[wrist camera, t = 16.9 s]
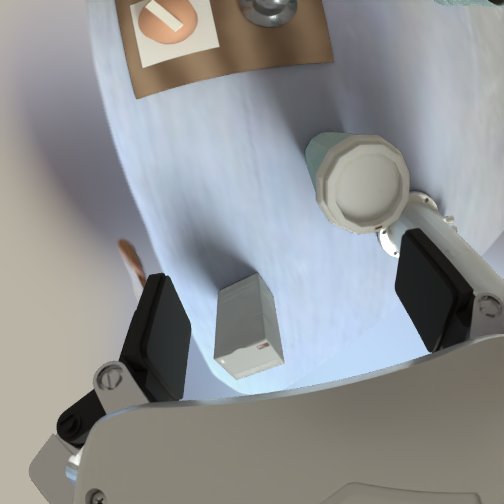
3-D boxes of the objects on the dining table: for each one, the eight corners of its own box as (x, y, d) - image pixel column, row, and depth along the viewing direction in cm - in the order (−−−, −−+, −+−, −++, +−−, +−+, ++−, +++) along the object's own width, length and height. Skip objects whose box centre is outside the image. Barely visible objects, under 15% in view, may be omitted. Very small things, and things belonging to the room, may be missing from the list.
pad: (205, -17, 23) (205, -18, 23) (219, 46, 28) (219, 46, 28) (130, 6, 24) (129, 5, 23) (143, 67, 29) (142, 67, 29)
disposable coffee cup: (281, 129, 36) (305, 157, 23) (353, 108, 34) (410, 126, 22) (304, 196, 42) (333, 253, 29) (369, 175, 40) (421, 221, 27)
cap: (208, 20, 26) (204, 12, 22) (169, 53, 28) (160, 49, 24) (175, -7, 23) (167, -18, 19) (138, 26, 25) (125, 20, 21)
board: (306, -46, 21) (307, -49, 20) (331, 62, 31) (333, 62, 30) (116, -8, 22) (113, -10, 22) (138, 99, 32) (136, 99, 31)
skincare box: (235, 311, 54) (236, 383, 40) (215, 286, 50) (209, 360, 37) (276, 294, 52) (287, 367, 38) (258, 267, 48) (265, 341, 35)
